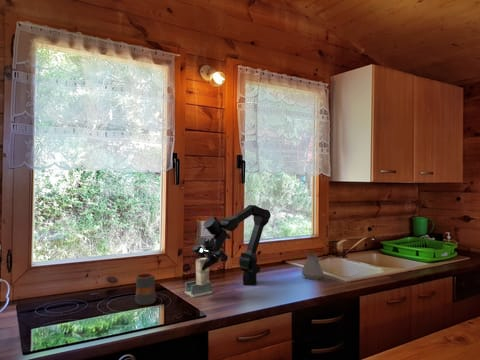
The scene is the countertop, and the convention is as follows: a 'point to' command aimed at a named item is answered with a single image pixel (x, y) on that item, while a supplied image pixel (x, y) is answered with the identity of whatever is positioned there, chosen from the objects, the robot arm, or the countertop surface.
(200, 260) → the ash slab
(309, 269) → the coffee pot
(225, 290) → the countertop surface
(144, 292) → the mug
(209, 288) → the grey channel bracket
